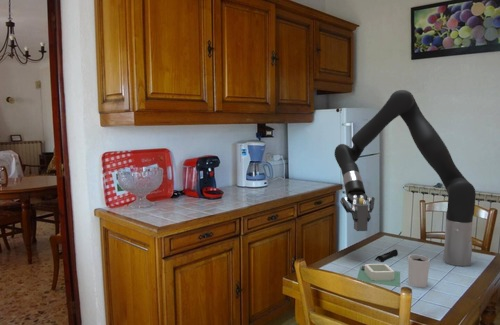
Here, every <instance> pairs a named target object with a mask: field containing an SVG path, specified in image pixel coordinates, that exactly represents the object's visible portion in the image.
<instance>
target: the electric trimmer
mask: <svg viewBox="0 0 500 325" xmlns="http://www.w3.org/2000/svg"><path fill="white" fill-rule="evenodd" d="M398 255H399V252H398V250H397V249H395V248H394V249H393V250H391V251H388V252H385V253H383V254H381V255H380V254H379V255H377V256H376V257H375V258H374V261H376V262H379V263H384V262H385V261H386V260H388V259H391V258H395V257H396V256H398Z"/></svg>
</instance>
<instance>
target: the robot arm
mask: <svg viewBox="0 0 500 325" xmlns="http://www.w3.org/2000/svg"><path fill="white" fill-rule="evenodd" d="M398 117H400V118H401V119H402V121H403V122H404V123H405V124H406V126H407V128H408V130H409V133H410V136H411V138H412V140H413V142H414V144H415V146H416V147H417V149H418V151H419V152H420V154H421V156H422V157H423V158H424V160H425V161H426V162H427V164H428V165H429V166H430V167H431V168H432V169H433V171H435V172H436V174H437V175H438V177H439V178H440V181H441V182H442V184H443V186H444V188H445V191H446V193H447V195H448V196H447V208H446V214H445V227H444V228H445V233H444V248H443V249H444V250H443V261H444V263H446V264H449V265H452V266H456V267H468V266H469V267H471V266H472V252H473V241H472V236H473V219H474V214H475V210H476V209H475V208H476V206H475V205H476V195H477V194H476V188H475V187H474V185H473V184H472V183H471V182H469V180H467V178H466V177H465V176H464V175H463V174H462V172H461V171H460V170H459V169H458V167H457V166H456V164H455V162H454V161H453V158H452V155H451V153H450V151H449V149H448V147H447V145H446V144H445V142H444V140H443V139H442V138H441V136H440V135H439V133H438V132H437V131H436V129H435V128H434V127H433V126H432V124H431V123H430V121H428V119H427V118H426V117H425V116H424V114H423V113H422V111H421V109H420V107H419V105H418V103H417V101H416V98H415V96H414V95H413V94H412V93H411V92H410V91H409V90H406V89H398V90H395V91H394V92H393V93H391V95H390V97H389V98H388V100H387V101H386V102H385V103H384V105H383V106H382V107H381V109H379V111H378V112H377V113H376V114H375V115H374V116H373V117H372V118H371V119H370V120H369V121H367V122H366V123H365V124H364V125H363V126H362V127H361V128H360V129H359V130H358V131H357V132H356V133H355V134H354V135H353V136H352V137H351V142H352V144H353V146H352V147H351V146H348V145H347V144H344V143H340V144H338V145H337V146H336V147H335V149H334V158H335V161H336V163H337V165H338V167H339V168H340V170H341V174H342V181H343V186H344V191H345V197H341V198H340V204H341V206H342V207H343V209H344V210H345V212H346V213H350V214H351V217H352V220H353V221H354V220H355V222H357V221H358V217H357V213H356V211H355V210H356V208H355V204H356V203H359V198H363V203H364V204H366V205H368V204H369V205H368V219H367V221H368V223H369V222H370V220H371V218H372V217H371V216H372V215H371V213H373V210H374V207H375V200H376V198H375V197H374V196H372V197H369V196H368V195H367V194H366V189H365V186H364V182H363V178H362V176H361V172H360V170H359V167H358V166H359V165H357V163H356V162H357V161H358V160H359V158H360V156H361V155H362V153H363V151H364V150H365V148H367V146H369V144H371V142H373V141H374V140H375V139H376V138H377V137H378V136H379V135H380V134H381V133H382V131H383V130H384V129H385V128H386V127H387V126H388V125H389V124H390V123H391V122H392V121H394V120H395V119H396V118H398ZM367 202H368V203H367ZM348 203H349V204H348Z"/></svg>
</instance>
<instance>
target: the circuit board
mask: <svg viewBox="0 0 500 325" xmlns="http://www.w3.org/2000/svg"><path fill="white" fill-rule="evenodd" d="M364 270H365V265H362V266H360V267H359V270H358V273H357V274H358V275H357V277H356V280H357V279H360V280H363V281H366V282H365V283H371V284H375V285H376V284H378V285H384V286H391V287H398V288H400V287H401V271H395V270H393V271H394V280H391V281H374V280H371V279H370V278H369V277H368V276H367V275H366V274H365V273H364ZM363 281H362V282H363Z"/></svg>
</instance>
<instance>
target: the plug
mask: <svg viewBox="0 0 500 325" xmlns="http://www.w3.org/2000/svg"><path fill="white" fill-rule="evenodd" d="M355 208H356V210H355V211H356V213H357V217H358V221H357V222H355V220H353V229H354V230H355V231H356V232H368V223H369V222H368V221H367V219H368V208H369V205H368V204H367V205H366V204H364V203H363V198H359V203H356V204H355Z"/></svg>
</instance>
